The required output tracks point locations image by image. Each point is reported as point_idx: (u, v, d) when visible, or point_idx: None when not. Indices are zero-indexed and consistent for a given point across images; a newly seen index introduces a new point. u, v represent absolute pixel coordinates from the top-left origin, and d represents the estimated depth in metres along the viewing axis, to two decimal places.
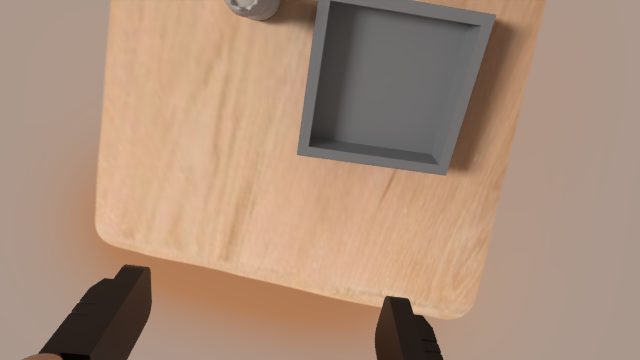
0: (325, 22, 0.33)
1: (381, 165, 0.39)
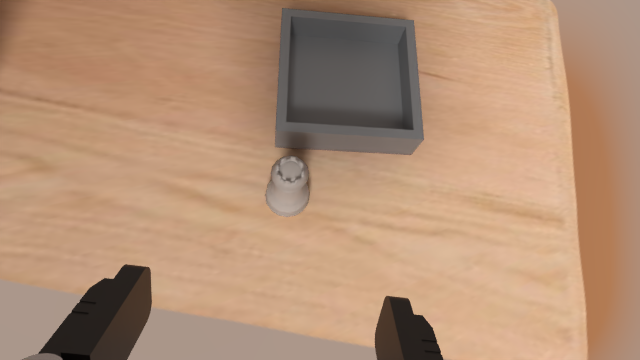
0: (303, 124, 0.39)
1: (416, 68, 0.43)
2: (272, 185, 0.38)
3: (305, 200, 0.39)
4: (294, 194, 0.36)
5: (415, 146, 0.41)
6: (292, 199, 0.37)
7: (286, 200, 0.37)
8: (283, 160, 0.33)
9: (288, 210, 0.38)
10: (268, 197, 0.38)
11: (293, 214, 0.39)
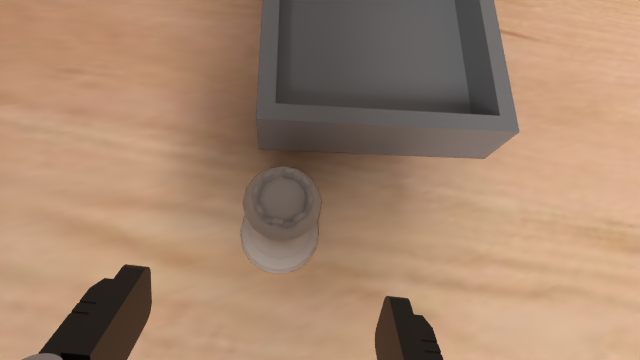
0: (307, 107, 0.22)
1: (495, 14, 0.25)
2: None
3: (311, 245, 0.21)
4: (292, 240, 0.19)
5: (498, 144, 0.24)
6: (288, 247, 0.19)
7: (277, 249, 0.20)
8: (268, 176, 0.16)
9: (282, 264, 0.21)
10: (244, 241, 0.21)
11: (291, 269, 0.22)
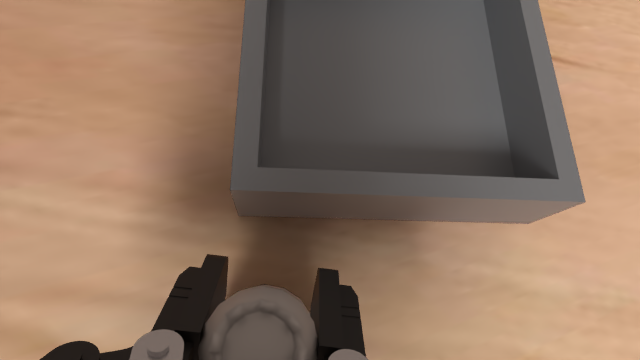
0: (300, 171, 0.16)
1: (545, 40, 0.20)
2: None
3: None
4: None
5: (552, 212, 0.18)
6: None
7: None
8: (235, 317, 0.10)
9: None
10: None
11: None
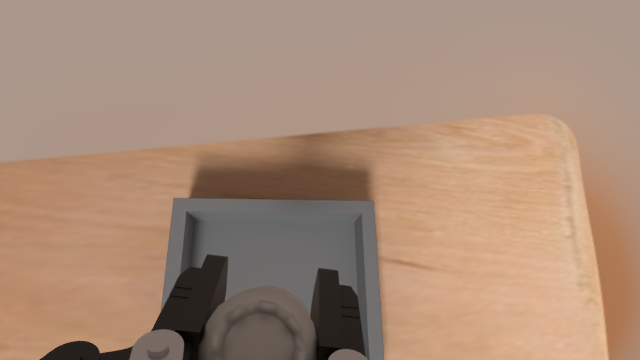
0: None
1: (377, 288, 0.28)
2: None
3: None
4: None
5: None
6: None
7: None
8: (234, 319, 0.10)
9: None
10: None
11: None
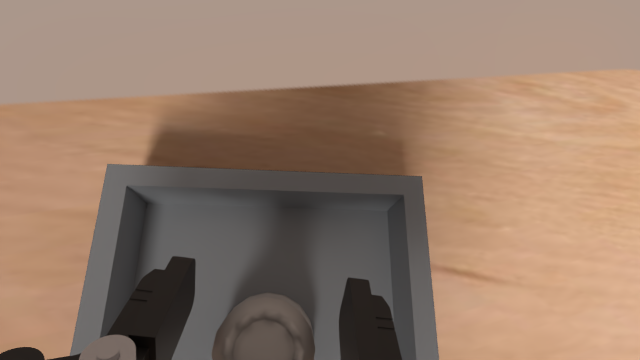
0: None
1: (432, 314, 0.17)
2: None
3: None
4: None
5: None
6: None
7: None
8: (243, 324, 0.12)
9: None
10: None
11: None
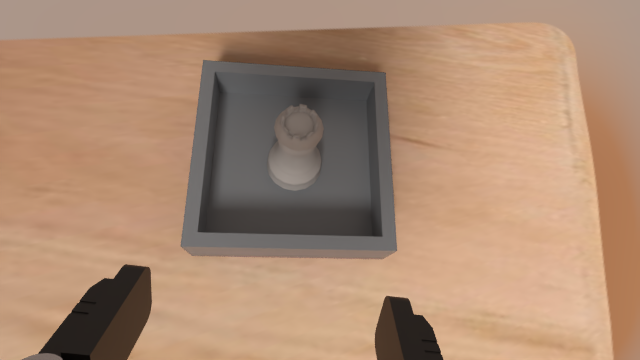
0: (223, 234, 0.27)
1: (388, 143, 0.31)
2: (275, 150, 0.30)
3: (316, 169, 0.31)
4: (304, 158, 0.28)
5: (386, 254, 0.30)
6: (301, 165, 0.29)
7: (293, 167, 0.29)
8: (290, 110, 0.25)
9: (296, 181, 0.30)
10: (270, 166, 0.30)
11: (302, 187, 0.31)
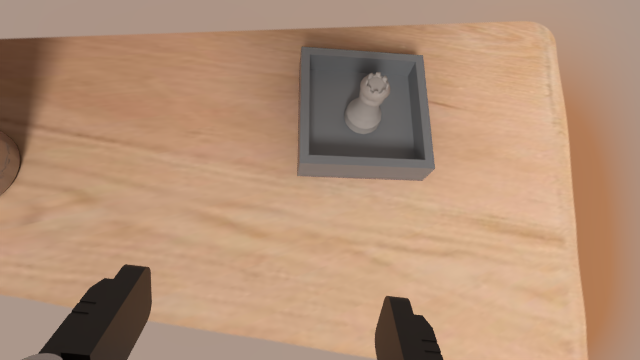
0: (324, 156, 0.42)
1: (426, 101, 0.46)
2: (353, 105, 0.45)
3: (379, 118, 0.46)
4: (375, 109, 0.43)
5: (426, 174, 0.45)
6: (371, 114, 0.44)
7: (366, 115, 0.44)
8: (371, 75, 0.41)
9: (366, 126, 0.45)
10: (349, 116, 0.46)
11: (368, 132, 0.47)
